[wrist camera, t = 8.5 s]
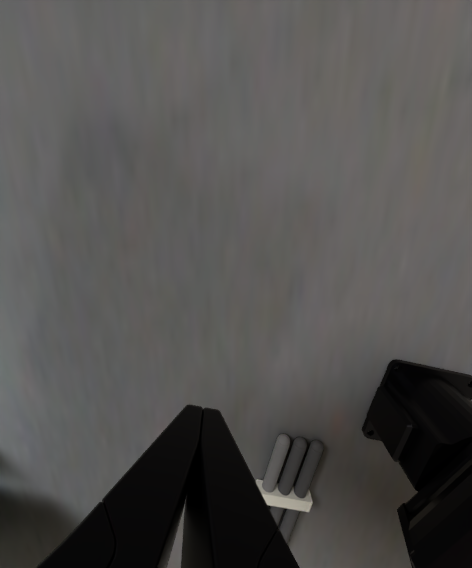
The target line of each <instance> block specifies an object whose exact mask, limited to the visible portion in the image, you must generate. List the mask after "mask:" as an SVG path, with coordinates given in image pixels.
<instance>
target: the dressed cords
mask: <svg viewBox="0 0 472 568" xmlns="http://www.w3.org/2000/svg"><path fill="white" fill-rule="evenodd" d="M289 445H290V438H289V436H288V435H286V434H280V435H279V436H278V438H277V440H276V443H275V446H274V449H273V452H272V455H271V458H270V462H269V465H268V468H267V471H266V474H265V477H264V480H258V479H256V484H257V486H258V488H259V490H260V492H261V494H262V496H263V498H264V500H265V502H266V504H267V506H269V505H270V506H271V508H270V512H271V513H272V515H273V517H274V519H275V521H276V523H277V525H278V524H279V522H280V519H281V516H282V513H283V511H284V508H287V509H286V512H285V514H284V517H283V520H282V522H281V525H280V528H279V530H280V531H281V533H282V535H283V537H284V539H285V541H286V543H288V541H289V538H290V536H291V533H292V531H293V528H294V525H295V523H296V520H297V518H298V515H299V512H300V511H305V512H309V511H310V508H311V506H312V503H313V502H312V498H311V494H310V490H309V486H310V484H311V481H312V479H313V476H314V473H315V471H316V468H317V466H318V463H319V461H320V458H321V455H322V453H323V450H324V447H323V444H322V443H321V442H320V441H318V440H314V441H312V442H311V444H310V447H309V449H308V452H307V455H306V457H305V460H304V463H303V466H302V468H301V471H300V474H299V476H298V479H297V482H296V484H295V486H293V483H294V481H295V478H296V475H297V472H298V470H299V467H300V464H301V462H302V459H303V456H304V453H305V451H306V448H307V442H306V440H305V439H304V438H302V437H297V438H296V439H295V440H294V442H293V445H292V448H291V451H290V454H289V457H288V459H287V462H286V465H285V468H284V471H283V474H282V477H281V479H280V482H279V483H277V480H278V477H279V474H280V471H281V468H282V466H283V463H284V460H285V457H286V454H287V451H288V448H289Z"/></svg>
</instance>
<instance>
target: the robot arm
mask: <svg viewBox="0 0 472 568" xmlns="http://www.w3.org/2000/svg"><path fill="white" fill-rule="evenodd" d="M396 366H399V367H398V368H397V369H395V367H396ZM469 382H470V383H469ZM468 383H469V384H468ZM471 399H472V376H471V375H468V374H463V373H458V372H454V371H449V370H444V369H440V368H435V367H430V366H426V365H421V364H416V363H412V362H407V361H402V360H392V361H391V362H390V363H389V365H388V367H387V370H386V372H385V375H384V377H383V379H382V382H381V384H380V386H379V387H378V389H377V391H376V394H375V396H374V399H373V401H372V403H371V406H370V408H369V411H368V413H367V418H366V420H365V422H364V425H363V427H362V432H363V434H364V436H365V437H366V438H370V439H375V440H380V441H382V442H383V443H384V445H385V447H386V449H387V450H388V452H389V454H390V455H391V457H392V459H393V460H394V461H395V462H399V464H400V465H401V467H402V469H403V470H404V472H405V474H406V475H407V477H408V479H409V480H410V482H411V484H412V485H413V487H414V489H415V490H416V491H418V493H417V494H415V495H414V496H413V497H412V498H411V499H410V500H409V501H408V502H407V503H406V504H405V503H403V504H402V505H401V506H400V507H399V508H398V509H397V512H398V516H399V519H400V523H401V527H402V531H403V535H404V538H405V542H406V546H407V550H408V553H409V557H410V561H411V565H412V568H472V401H471ZM369 430H371V431H370V432H368V431H369ZM185 500H186V502H185ZM184 504H185V512H184V527H183V543H182V560H181V568H299V566H298V564H297V562H296V560H295V558H294V556H293V555H292V553H291V551H290V549H289V547H288V545H287V543H286V541H285V539H284V537H283V535H282V533H281V531H280V530H278V525H277V523H276V521H275V519H274V517H273V515H272V513H271V512H270V510H269V508H268V506H267V504H266V502H265V500H264V498H263V496H262V494H261V492H260V490H259V488H258V486H257V484H256V482H255V480H254V478H253V476H252V474H251V472H250V470H249V468H248V466H247V464H246V462H245V460H244V458H243V456H242V454H241V452H240V450H239V448H238V446H237V444H236V442H235V440H234V438H233V436H232V434H231V432H230V430H229V428H228V426H227V424H226V422H225V420H224V418H223V416H222V414H221V412H220V411H219V410H216V409H211V408H204V409H203V408H202V407H200V406H195V405H187V406H185V408H184V409H183V410H182V411H181V412H180V413H179V414H178V415H177V417H176V418H175V419H174V420H173V421H172V422H171V423H170V424H169V425H168V427H167V428H166V429H165V430H164V431H163V432H162V433H161V434H160V435H159V437H158V438H157V439H156V440H155V441H154V442H153V443H152V444H151V446H150V447H149V448H148V449H147V450H146V451H145V452H144V453H143V454H142V456H141V457H140V458H139V459H138V460H137V461H136V462H135V463H134V465H133V466H132V467H131V468H130V469H129V470H128V471H127V472H126V473H125V475H124V476H123V477H122V478H121V479H120V480H119V481H118V482H117V483H116V485H115V486H114V487H113V488H112V489H111V490H110V491H109V492H108V494H107V495H106V496H105V497H104V498H103V499H102V502H99V503H98V504H97V506H96V507H95V508H94V509H93V510H92V511H91V512H90V513H89V515H88V516H87V517H86V518H85V519H84V520H83V521H82V522H81V523H80V524H79V525H78V526H77V527H76V528H75V529H74V531H73V532H72V533H71V534H70V535H69V536H68V537H67V538H66V539H65V540H64V541H63V542H62V543H61V544H60V545H59V546H58V547H57V548H56V549H55V550H54V551H53V552H52V553H51V554H50V555H49V556H47V557H46V558H45V559H44V560H43V561H42V562H41V563H40V564H39V565H38V566H37V567H36V568H167V565H168V561H169V558H170V554H171V551H172V547H173V544H174V540H175V537H176V533H177V530H178V526H179V523H180V519H181V516H182V512H183V508H184Z"/></svg>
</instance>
